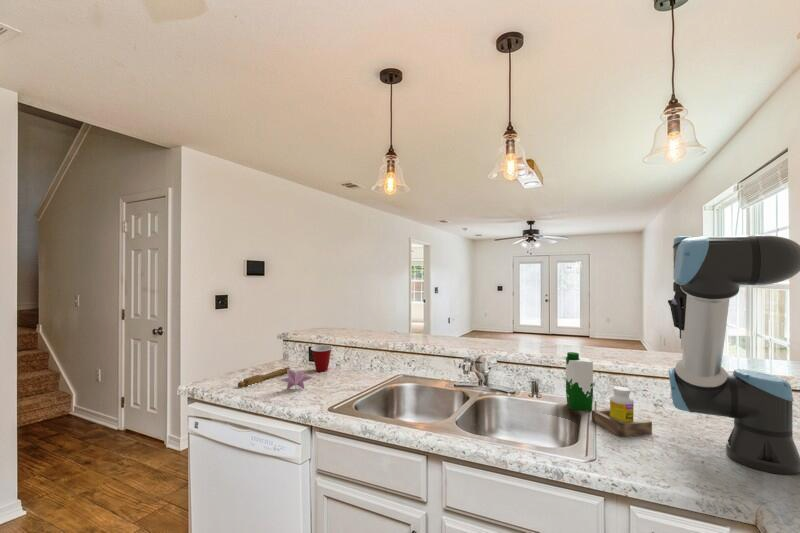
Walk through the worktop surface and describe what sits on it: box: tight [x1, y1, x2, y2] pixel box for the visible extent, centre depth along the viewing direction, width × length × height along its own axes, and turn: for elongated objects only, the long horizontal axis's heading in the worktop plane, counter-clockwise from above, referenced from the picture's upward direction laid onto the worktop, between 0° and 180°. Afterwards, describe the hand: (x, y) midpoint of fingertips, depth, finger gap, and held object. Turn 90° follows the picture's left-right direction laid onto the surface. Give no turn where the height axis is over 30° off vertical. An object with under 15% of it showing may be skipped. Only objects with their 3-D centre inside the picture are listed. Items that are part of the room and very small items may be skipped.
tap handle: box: [237, 366, 291, 388], centre depth 186 cm, size 3×3×30 cm
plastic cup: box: [310, 344, 333, 373], centre depth 202 cm, size 11×11×12 cm
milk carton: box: [565, 351, 594, 411], centre depth 148 cm, size 9×9×20 cm
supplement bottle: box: [609, 386, 634, 423], centre depth 129 cm, size 7×7×13 cm
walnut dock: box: [591, 408, 653, 437], centre depth 130 cm, size 12×13×4 cm
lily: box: [280, 368, 314, 389], centre depth 168 cm, size 12×12×10 cm
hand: (686, 349), depth 138 cm, fingers closed
